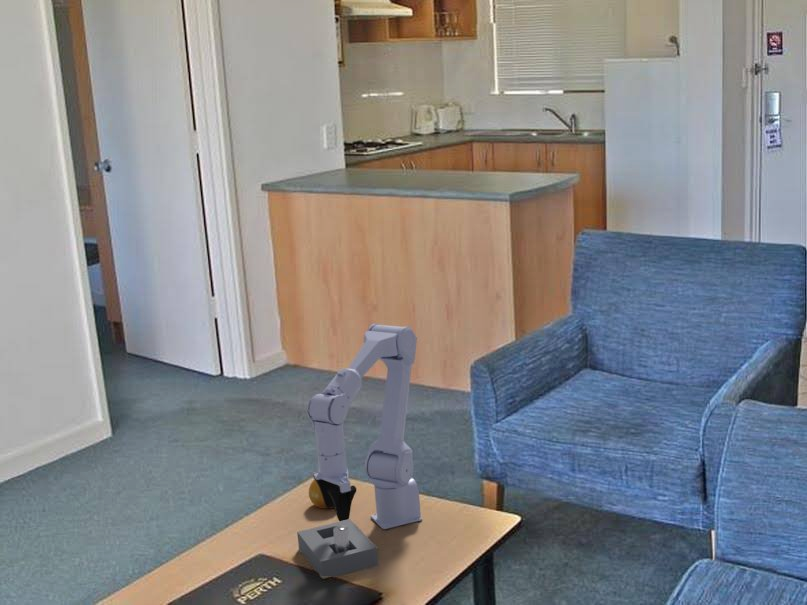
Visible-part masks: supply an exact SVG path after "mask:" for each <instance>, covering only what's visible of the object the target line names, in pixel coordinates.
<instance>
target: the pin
mask: <svg viewBox="0 0 807 605" xmlns="http://www.w3.org/2000/svg"><path fill="white" fill-rule="evenodd" d="M333 532H334V543H335V554H337V553H341V552H345V551H349V550H350V546H349V534H348V527H347V526H344V525H340V526H336V527H334V528H333Z"/></svg>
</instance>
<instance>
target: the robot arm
mask: <svg viewBox="0 0 807 605" xmlns="http://www.w3.org/2000/svg"><path fill="white" fill-rule="evenodd" d="M417 340H418V337H417V336H416V334H415V332H414V330H413V329H412V327H410V326H398V325H395V326H394V325H389V324H388V325H387V324H386V325H385V324H379V323H373V324H371V325H370V326H369V327H368V329H367V330H366V332H365V333H364V335H363V344H362V347H361V348H360V350H359V351H358V353H357V354H356V355H355V357H354V359H353V360H352V361H351V363H350V365H349V366H348V368H346V367H345V368H341V369H339V370H338V371H337V372H336V374H335V376H334V377H333V378H332V379H331V381H330V382H329V383H328V384H327V386H326V387H325V388H324V390H323V391H322V392H321V393H316V394H314V395H313V396H312V397H311V398H310V400H309V402H308V404H307V410H306V414H307V418H308V419H309V421H310V423H311V427H312V429H313V430H314V431H315V432H314V433H315V441H316V442H315V443H316V452H317V460H318V461H317V470H318V472H317V473H314V474H313V476H312V478H313V480H314V479H315V481H316V482H317V484H318V486H319V488H320V491H321V493H322V497H323V500H324V503H325V505H326V507H327V508H326V509H331V508H330V507H333V508H334V509H335V515H336V518H337V519H338V522H340V521H344V520H349V519H350V515H351V514H350V513H351V508H352V502H353V499H354V497H355V494H356V493H357V487H356V486H355V485H351V481H350V480H349V478H350V476H349V469H348V464H347V456H346V455H347V454H346V453H347V452H346V445H345V436H344V435H345V434H344V432H345V431H344V421H345V420H346V419H347V416H348V411H349V408H350V406H351V401H353V399H354V398H355V396H356V395H357V394H358V392H359V391H360V390H361V388H362V387H363V380H362V378H364V376H365V375H366V374H367V373H368V372H369V371H370V370H371V368H372V367H374V365H375V364H376V363H377V362H378V361H379V360H380V361H382V362H383V363H384V365H385V366H386V368H387V372H386V380H385V389H384V397H383V406H382V413H381V414H382V415H381V421H380V431H379V438H377V440H375V441H374V442H372V443H371V444H370V445H369V450H368V453H367V456H366V458H365V461H364V471H365V476H366V477H367V478H368V479H370V483H371V484H373V485H374V496H375V497H374V498H375V510H376V513H373V514H370V518H371V519H372V520H373V521H374V522H375V523H376V524H377V525H378V526H379V527H380V528H381V529H382V530H386V529H387V530H388V529H391V528H395V527H400V526H404V525H407V524H411V523H415V522H419V521H422V520H423V517H422V514H421V502H420V501H421V500H420V492H419V490H420V489H419V487H418V483H417V481H416V480H415V479H414V478H413V475H414V466H415V465H414V462H413V459H414V457H413V453H414V450H412V448H411V447H410V446H409V445H408V444H407V443H406V442H405V441H404V436H405V427H406V419H407V410H408V401H409V393H410V392H409V391H410V385H411V374H412V368H413V367H412V366H413V365H414V364H415V360H416V359H415V357H416V349H417V342H418V341H417ZM334 506H335V507H334Z"/></svg>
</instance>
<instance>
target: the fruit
mask: <svg viewBox="0 0 807 605" xmlns="http://www.w3.org/2000/svg"><path fill="white" fill-rule="evenodd" d="M308 498H309V500H310V502H311V503H312V505H314V506H315V507H317V508H318V509H319V508H320V509H328V508H327V507H326V505H325V503H324V500H323V497H322V493H321V491H320V488H319V486H318V484H317V482H316V481H315V479H314V478H313V480H312V481H311V483H310V485H309V487H308ZM332 508H335V506H334V507H330V508H329V509H332Z"/></svg>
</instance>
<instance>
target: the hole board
mask: <svg viewBox="0 0 807 605" xmlns="http://www.w3.org/2000/svg"><path fill="white" fill-rule="evenodd" d="M340 525H344V526H347V527H348V534H349V546H350V550H349V551H345V552H341V553H337V554H335V543H334V532H333V528H334V527H336V526H340ZM296 533H297V543H298V550H299V552H301V554H302V555H303V556H304V558H305V559H306V560H307V562H308V563H309V564H310V566H311V567H312V568H313V570H314V571H315V572H316V571H317V572H318V573H320V574H321V575H322V576H331V577H333V578H336V577H340V576H344V575H348V574H352V573H355V572H359V571H363V570H367V569H371V568H374V567H378V566H379V556H378V554H379V553H378V547H377V545H375V543H373V542H372V540H370V538H369V537H368V536H367V534H365V533H364V532H363V531H362V530H361V529H360V528H359V527H358V526H357V525H356V523H354V521H353V520H351V519H350V518H349V519H347V520H343V521H336V522H332V523H327V524H324V525H320V526H317V527H312V528H307V529H303V530H299V531H297V532H296ZM317 572H316V573H317ZM318 573H317V574H318Z"/></svg>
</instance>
